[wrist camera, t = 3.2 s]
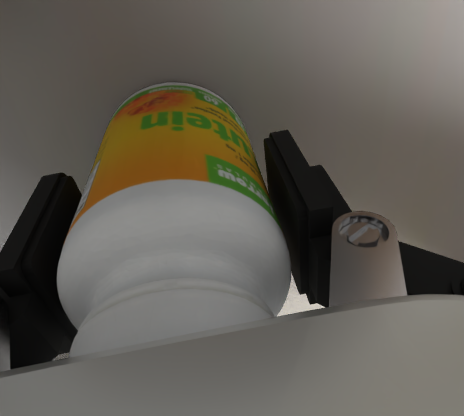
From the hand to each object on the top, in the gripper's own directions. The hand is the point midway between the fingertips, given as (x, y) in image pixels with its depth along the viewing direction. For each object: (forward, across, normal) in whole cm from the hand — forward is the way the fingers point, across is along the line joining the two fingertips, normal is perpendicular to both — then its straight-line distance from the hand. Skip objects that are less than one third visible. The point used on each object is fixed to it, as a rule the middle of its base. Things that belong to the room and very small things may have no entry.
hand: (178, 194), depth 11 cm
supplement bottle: (+3, 0, 0) cm, 3 cm away
